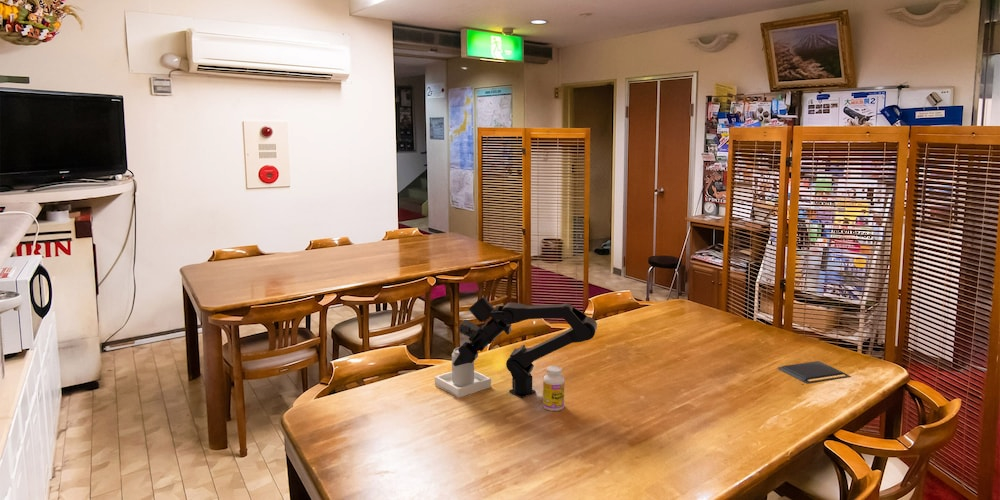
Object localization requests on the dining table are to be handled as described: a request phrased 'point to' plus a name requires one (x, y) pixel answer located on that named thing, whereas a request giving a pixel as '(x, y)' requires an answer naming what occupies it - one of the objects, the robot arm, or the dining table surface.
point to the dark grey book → (813, 372)
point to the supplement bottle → (553, 389)
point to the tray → (479, 384)
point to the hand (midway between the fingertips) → (458, 360)
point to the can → (462, 371)
